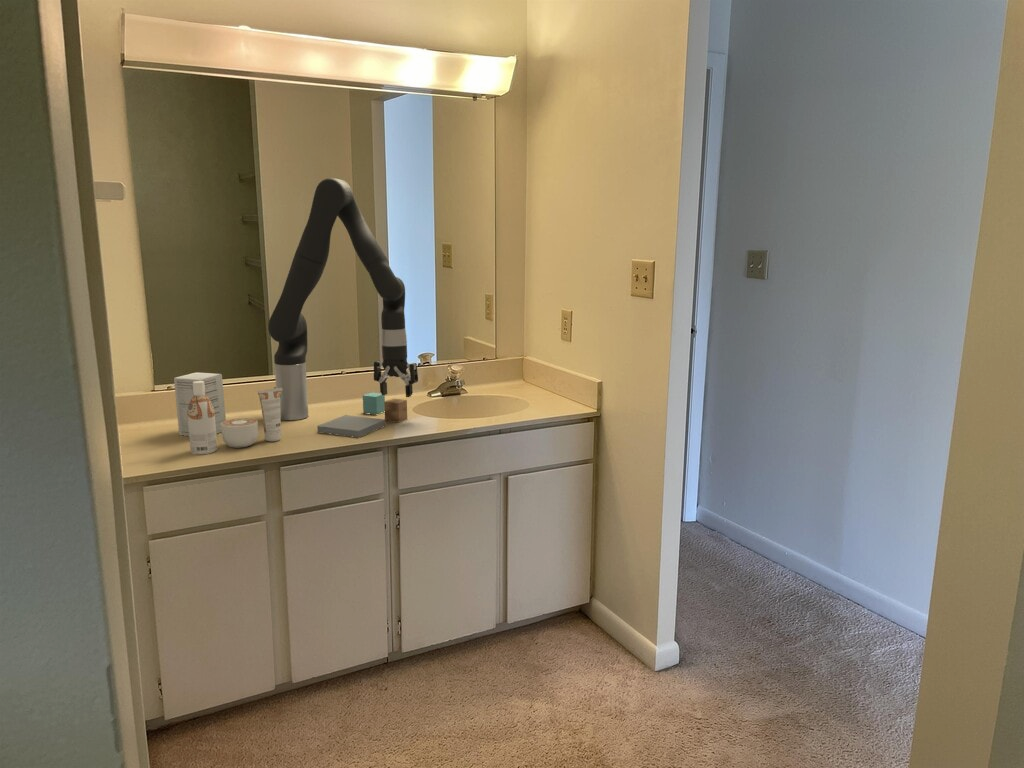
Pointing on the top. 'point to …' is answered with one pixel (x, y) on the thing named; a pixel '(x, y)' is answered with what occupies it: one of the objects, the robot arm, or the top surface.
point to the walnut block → (395, 410)
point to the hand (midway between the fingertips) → (396, 395)
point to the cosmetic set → (230, 422)
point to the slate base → (351, 425)
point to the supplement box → (186, 393)
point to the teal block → (373, 403)
